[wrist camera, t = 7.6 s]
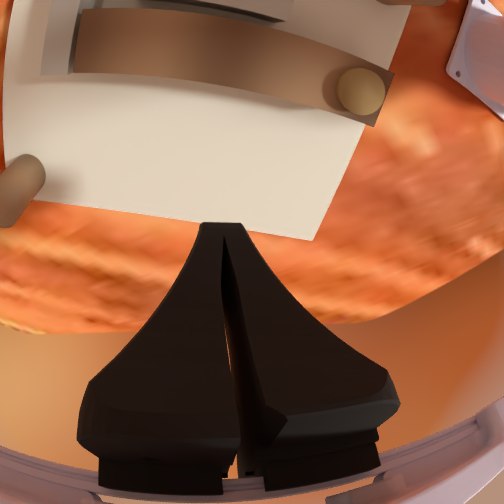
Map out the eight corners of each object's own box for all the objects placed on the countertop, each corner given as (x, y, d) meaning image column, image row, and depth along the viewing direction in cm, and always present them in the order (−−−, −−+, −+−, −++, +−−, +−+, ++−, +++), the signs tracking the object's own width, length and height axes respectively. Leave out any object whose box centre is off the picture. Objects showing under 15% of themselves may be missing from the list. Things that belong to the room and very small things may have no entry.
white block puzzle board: (408, -22, 11) (465, -25, 7) (307, 228, 23) (328, 281, 19) (55, -86, 5) (12, -106, 1) (18, 186, 17) (-18, 232, 13)
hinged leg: (367, 64, 14) (400, 75, 11) (350, 110, 16) (379, 131, 13) (104, 11, 10) (77, 8, 8) (95, 64, 12) (67, 75, 9)
